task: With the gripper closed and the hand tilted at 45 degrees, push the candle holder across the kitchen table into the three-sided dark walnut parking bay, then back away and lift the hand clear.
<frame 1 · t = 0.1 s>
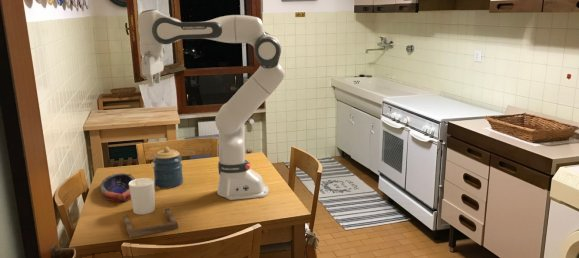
hand: (154, 84, 193), 48 cm above the table, tool pointing down, fingers open, 8 cm apart
parking bay: (150, 223, 175), on the table
canister: (169, 184, 216), on the table
candle holder: (144, 210, 187), on the table
dish: (119, 193, 206), on the table
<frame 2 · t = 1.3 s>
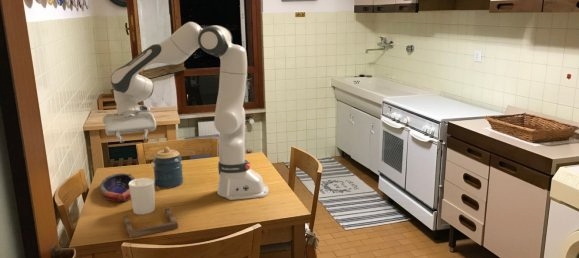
hand: (133, 140, 192), 26 cm above the table, tool tilted 45°, fingers open, 8 cm apart
nothing on the table moved.
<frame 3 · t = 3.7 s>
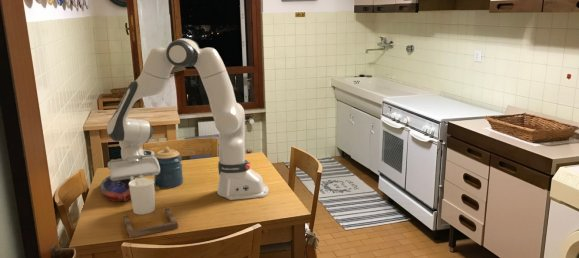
hand: (137, 186, 194), 7 cm above the table, tool tilted 45°, fingers closed
nothing on the table moved.
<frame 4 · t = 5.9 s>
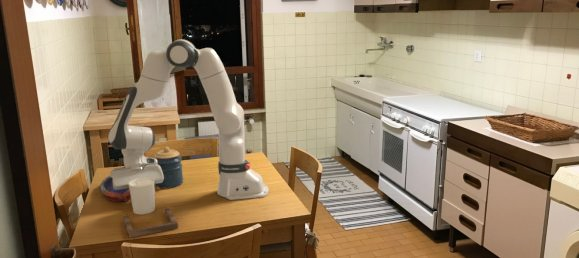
hand: (141, 195, 190), 5 cm above the table, tool tilted 45°, fingers closed
candle holder: (144, 210, 187), on the table, touching gripper
everything else where it was.
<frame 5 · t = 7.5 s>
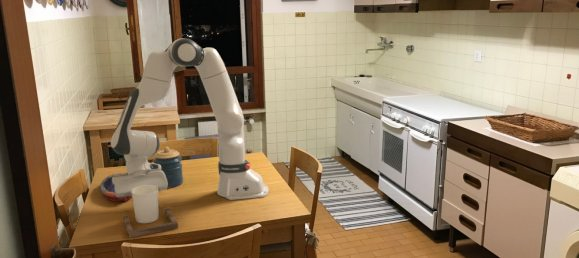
hand: (144, 202, 182), 5 cm above the table, tool tilted 45°, fingers closed
candle holder: (147, 219, 179), on the table, touching gripper
everything else where it was.
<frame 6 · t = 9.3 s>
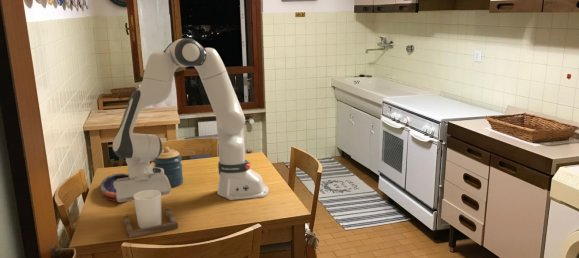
hand: (146, 207, 177), 5 cm above the table, tool tilted 45°, fingers closed
candle holder: (150, 225, 174), on the table, touching gripper
everything else where it was.
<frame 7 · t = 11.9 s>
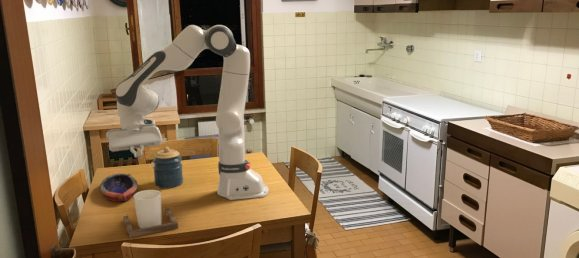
hand: (138, 156, 183), 22 cm above the table, tool tilted 45°, fingers closed
candle holder: (150, 225, 174), on the table
everything else where it was.
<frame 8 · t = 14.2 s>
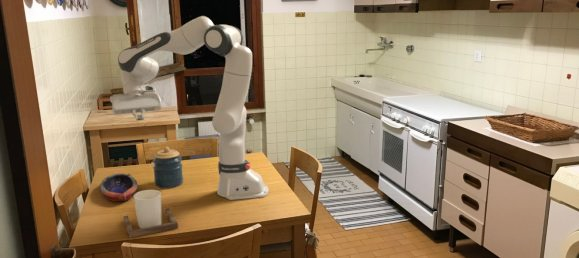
hand: (140, 119, 196), 33 cm above the table, tool tilted 45°, fingers closed
nothing on the table moved.
at the end: candle holder 0.7 cm from the parking bay (horizontally); candle holder tilted 0° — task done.
